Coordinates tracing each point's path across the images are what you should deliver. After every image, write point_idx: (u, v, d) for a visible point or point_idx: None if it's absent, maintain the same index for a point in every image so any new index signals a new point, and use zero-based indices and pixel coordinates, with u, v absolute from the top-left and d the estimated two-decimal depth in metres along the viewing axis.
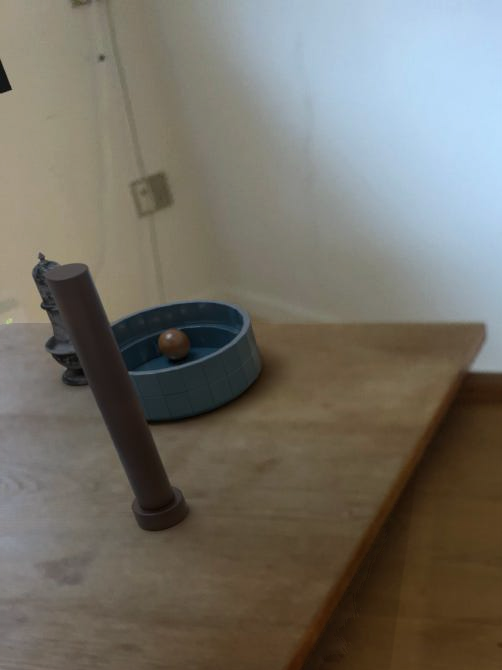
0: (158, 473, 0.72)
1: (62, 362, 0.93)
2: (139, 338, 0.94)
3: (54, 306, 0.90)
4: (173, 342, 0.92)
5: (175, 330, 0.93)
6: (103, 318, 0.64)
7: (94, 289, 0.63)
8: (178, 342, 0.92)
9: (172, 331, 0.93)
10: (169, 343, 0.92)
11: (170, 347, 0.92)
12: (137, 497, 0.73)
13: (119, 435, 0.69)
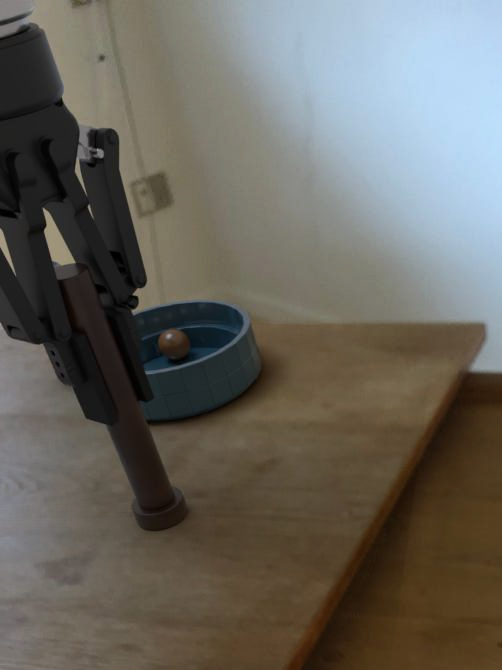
0: (158, 473, 0.72)
1: None
2: None
3: None
4: (173, 342, 0.92)
5: (175, 330, 0.93)
6: (103, 318, 0.64)
7: (94, 289, 0.63)
8: (178, 342, 0.92)
9: (172, 331, 0.93)
10: (169, 343, 0.92)
11: (170, 347, 0.92)
12: (137, 497, 0.73)
13: (119, 435, 0.69)
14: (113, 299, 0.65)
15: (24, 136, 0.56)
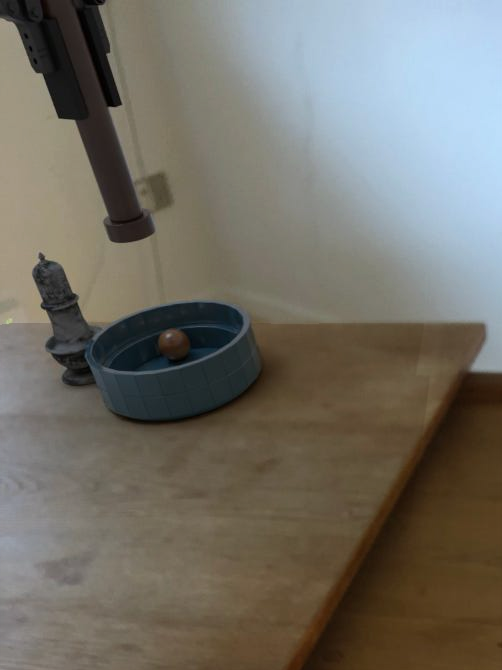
0: (126, 183, 0.78)
1: (62, 362, 0.93)
2: (139, 338, 0.94)
3: (55, 306, 0.90)
4: (173, 342, 0.92)
5: (175, 330, 0.93)
6: (72, 8, 0.70)
7: None
8: (178, 342, 0.92)
9: (172, 331, 0.93)
10: (169, 343, 0.92)
11: (170, 347, 0.92)
12: (107, 208, 0.79)
13: (89, 136, 0.75)
14: None
15: None
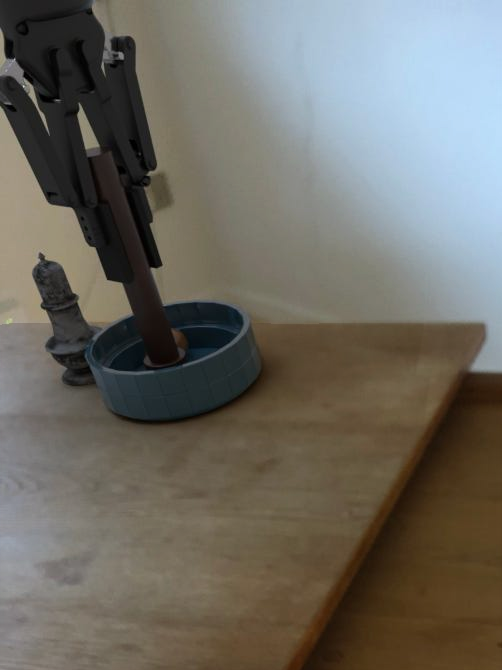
0: (165, 330, 0.88)
1: (62, 362, 0.93)
2: (139, 338, 0.94)
3: (55, 306, 0.90)
4: None
5: None
6: (122, 192, 0.80)
7: (116, 167, 0.79)
8: None
9: None
10: None
11: None
12: (148, 351, 0.89)
13: (134, 294, 0.85)
14: (130, 178, 0.81)
15: (63, 36, 0.72)
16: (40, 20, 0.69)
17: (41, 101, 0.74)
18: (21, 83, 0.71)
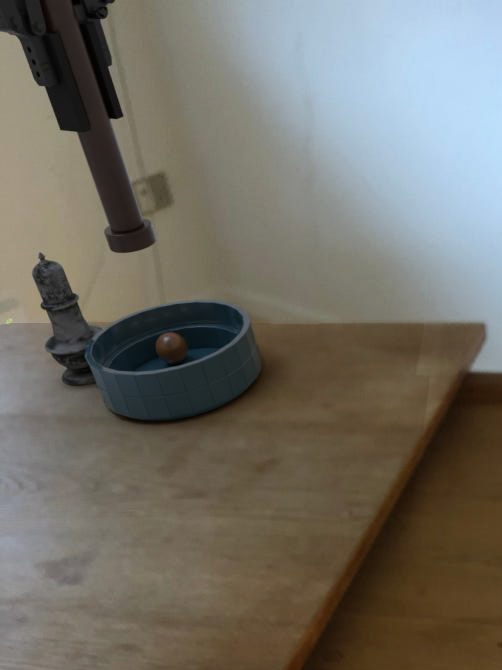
0: (127, 194, 0.79)
1: (62, 362, 0.93)
2: (139, 338, 0.94)
3: (55, 306, 0.90)
4: (171, 353, 0.92)
5: (171, 338, 0.92)
6: (75, 22, 0.71)
7: None
8: (176, 352, 0.92)
9: (169, 340, 0.92)
10: (168, 355, 0.92)
11: (169, 358, 0.92)
12: (108, 218, 0.80)
13: (91, 147, 0.76)
14: (84, 8, 0.72)
15: None
16: None
17: None
18: None
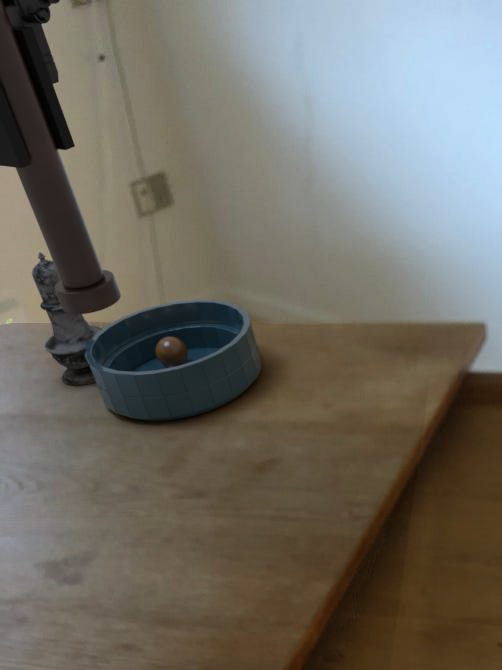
0: (82, 242, 0.63)
1: (62, 362, 0.93)
2: (139, 338, 0.94)
3: (55, 306, 0.90)
4: None
5: (173, 352, 0.91)
6: (7, 27, 0.55)
7: None
8: (179, 364, 0.92)
9: (171, 355, 0.91)
10: (171, 366, 0.92)
11: None
12: (60, 272, 0.64)
13: (34, 186, 0.60)
14: (20, 10, 0.56)
15: None
16: None
17: None
18: None
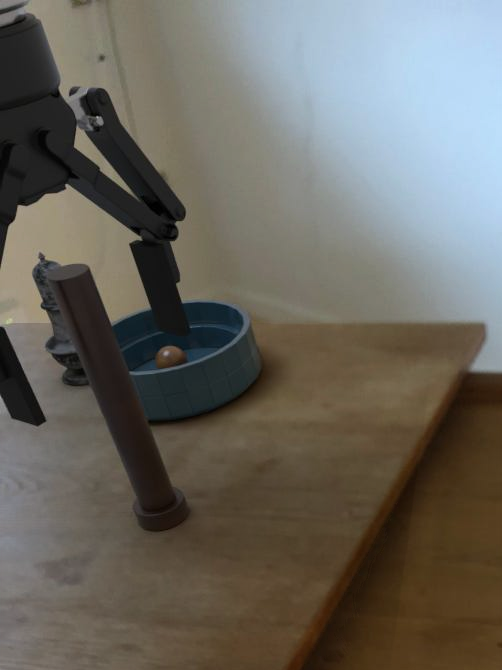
0: (159, 474, 0.72)
1: (62, 362, 0.93)
2: (139, 338, 0.94)
3: (55, 306, 0.90)
4: None
5: None
6: (104, 318, 0.64)
7: (95, 289, 0.63)
8: None
9: None
10: None
11: None
12: (138, 497, 0.73)
13: (120, 435, 0.69)
14: (155, 235, 0.66)
15: (21, 127, 0.56)
16: None
17: None
18: None
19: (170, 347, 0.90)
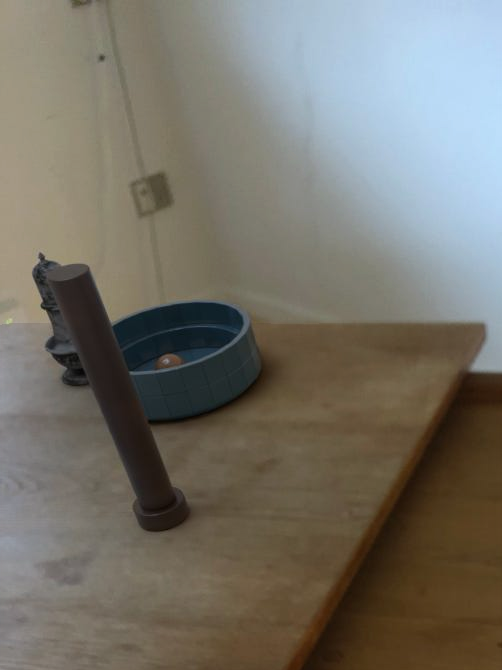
0: (159, 474, 0.72)
1: (62, 362, 0.93)
2: (139, 338, 0.94)
3: (55, 306, 0.90)
4: None
5: None
6: (104, 318, 0.64)
7: (95, 289, 0.63)
8: None
9: None
10: None
11: None
12: (138, 497, 0.73)
13: (120, 435, 0.69)
14: None
15: None
16: None
17: None
18: None
19: None
